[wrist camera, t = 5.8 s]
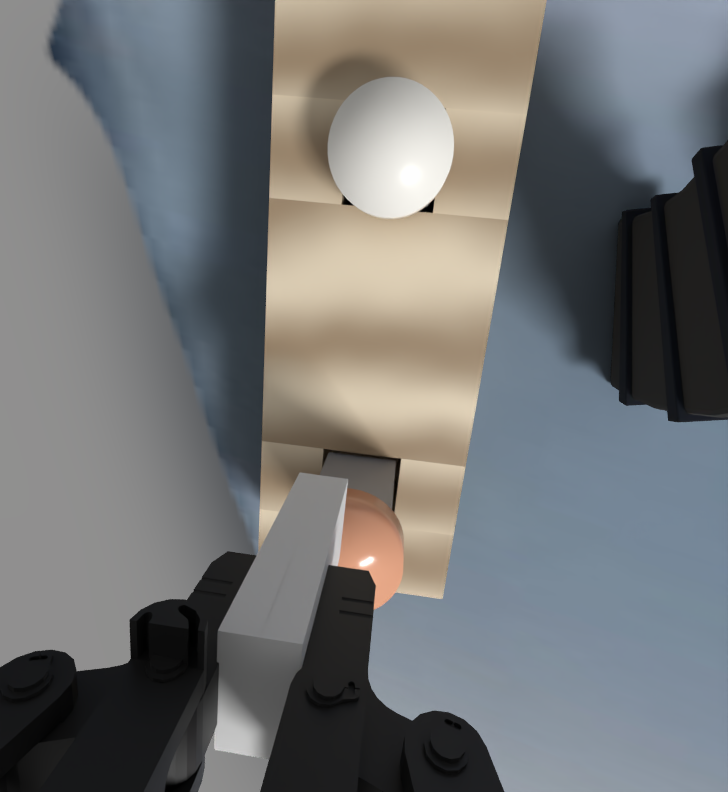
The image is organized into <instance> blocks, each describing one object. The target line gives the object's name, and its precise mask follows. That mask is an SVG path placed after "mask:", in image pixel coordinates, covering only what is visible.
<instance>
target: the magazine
mask: <svg viewBox="0 0 728 792" xmlns="http://www.w3.org/2000/svg"><path fill="white" fill-rule="evenodd" d="M692 165H693V171H694V178H693V179H692V180H691V181H690V182H689V183H688V184H687V185H686V187H685V188H684V189H683V190H682V191H680V192H679V193H671V194H662V195H656V196H654V197H653V198H652V199H651V208H644V209H635V210H626V211H623V212H622V219H621V220H620V222H619V224H618V244H617V264H616V284H615V304H614V324H613V344H612V364H611V385H612V386H613V387H615V388H616V389H618V390H619V401H620V402H621V403H623V404H624V405H626V406H629V405H649V406H651V407H653V408H656V409H660V410H665V411H667V413H668V421H673V422H693V421H711V420H728V141H727V142H726V143H725V144H724V145H721V146H713V147H705V148H701V149H700V150H699V151H698V152H697V154H696V155H695V156H694V157H693V158H692Z"/></svg>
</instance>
